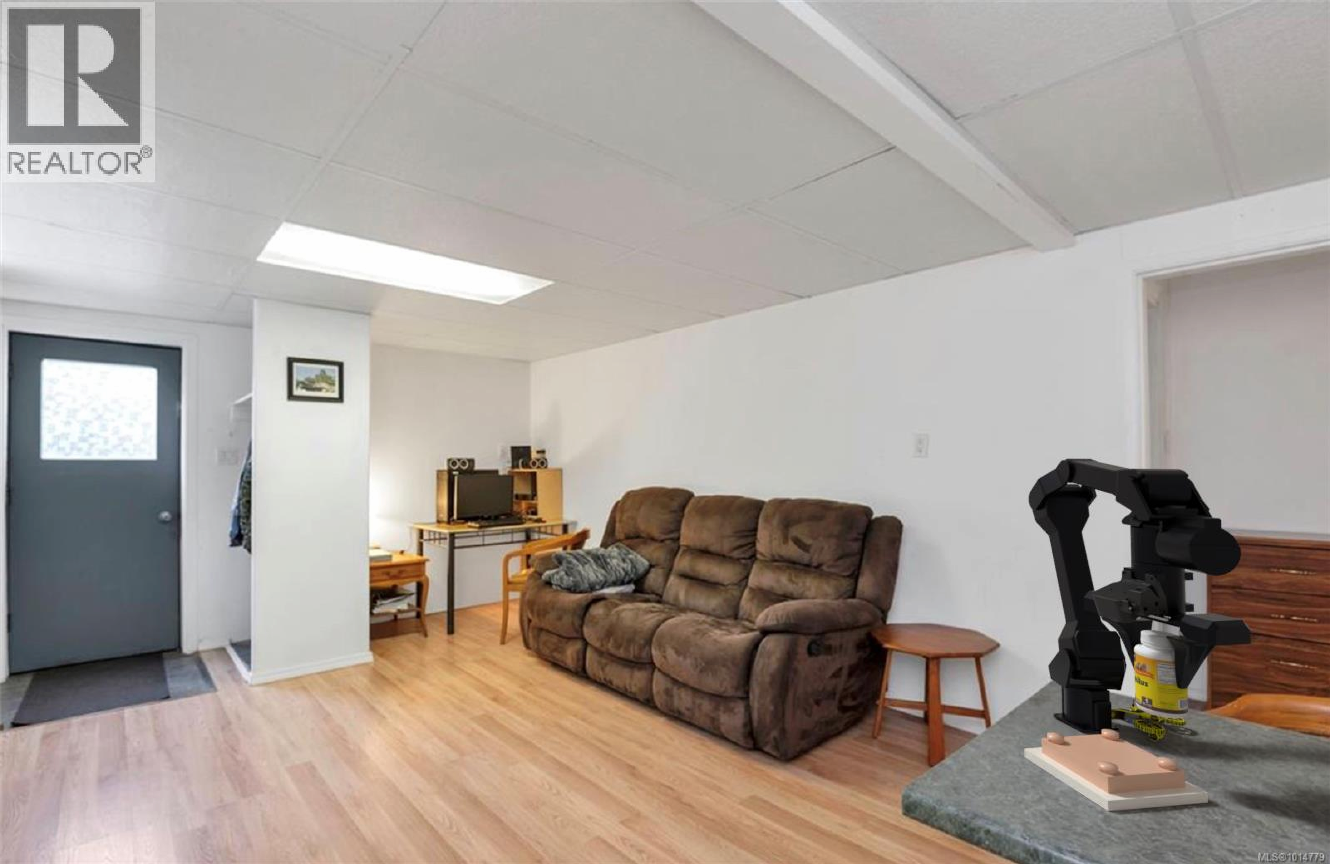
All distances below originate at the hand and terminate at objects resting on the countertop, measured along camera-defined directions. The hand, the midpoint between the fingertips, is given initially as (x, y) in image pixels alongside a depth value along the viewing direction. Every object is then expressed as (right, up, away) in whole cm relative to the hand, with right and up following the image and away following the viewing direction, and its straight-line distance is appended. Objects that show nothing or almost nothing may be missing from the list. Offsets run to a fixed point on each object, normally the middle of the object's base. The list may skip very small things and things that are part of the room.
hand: (1160, 680), depth 84 cm
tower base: (-7, -13, 0) cm, 15 cm away
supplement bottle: (0, -4, 0) cm, 4 cm away
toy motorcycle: (+10, -14, +15) cm, 23 cm away
